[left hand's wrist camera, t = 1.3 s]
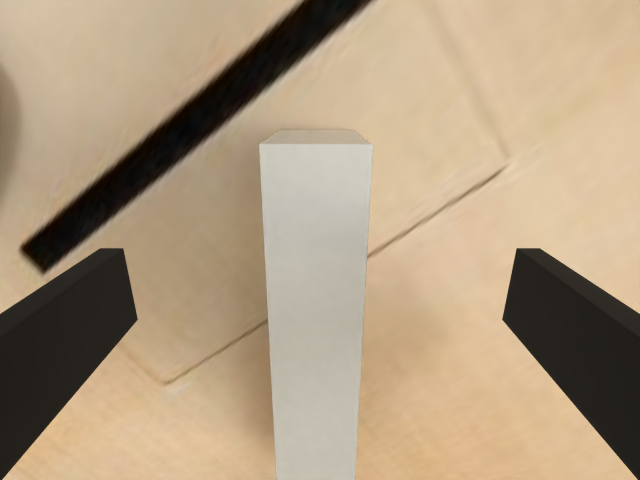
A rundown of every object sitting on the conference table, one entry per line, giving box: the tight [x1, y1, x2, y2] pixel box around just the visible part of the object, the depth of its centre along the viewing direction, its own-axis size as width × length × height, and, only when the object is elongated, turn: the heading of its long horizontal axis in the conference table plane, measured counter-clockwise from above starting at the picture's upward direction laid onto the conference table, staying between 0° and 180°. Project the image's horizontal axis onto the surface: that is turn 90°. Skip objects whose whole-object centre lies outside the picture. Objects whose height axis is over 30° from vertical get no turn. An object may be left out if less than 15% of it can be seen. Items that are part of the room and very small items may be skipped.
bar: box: [259, 130, 373, 480], centre depth 24 cm, size 26×5×9 cm, turn 0°
